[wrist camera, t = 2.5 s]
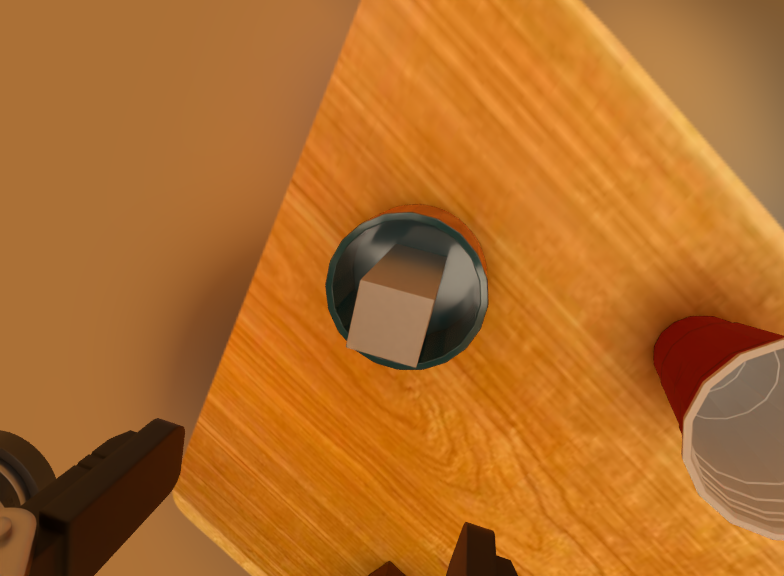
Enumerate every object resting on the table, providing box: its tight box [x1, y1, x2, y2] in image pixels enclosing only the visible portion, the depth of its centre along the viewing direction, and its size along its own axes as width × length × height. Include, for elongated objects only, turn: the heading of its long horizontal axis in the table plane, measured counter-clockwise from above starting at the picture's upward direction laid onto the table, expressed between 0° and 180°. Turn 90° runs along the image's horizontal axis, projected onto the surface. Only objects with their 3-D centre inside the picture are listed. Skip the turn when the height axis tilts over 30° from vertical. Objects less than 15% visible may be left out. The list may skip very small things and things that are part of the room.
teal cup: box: [325, 204, 488, 370], centre depth 32 cm, size 11×11×6 cm
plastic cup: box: [654, 316, 784, 541], centre depth 27 cm, size 11×11×12 cm
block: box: [346, 244, 447, 368], centre depth 29 cm, size 4×4×11 cm
